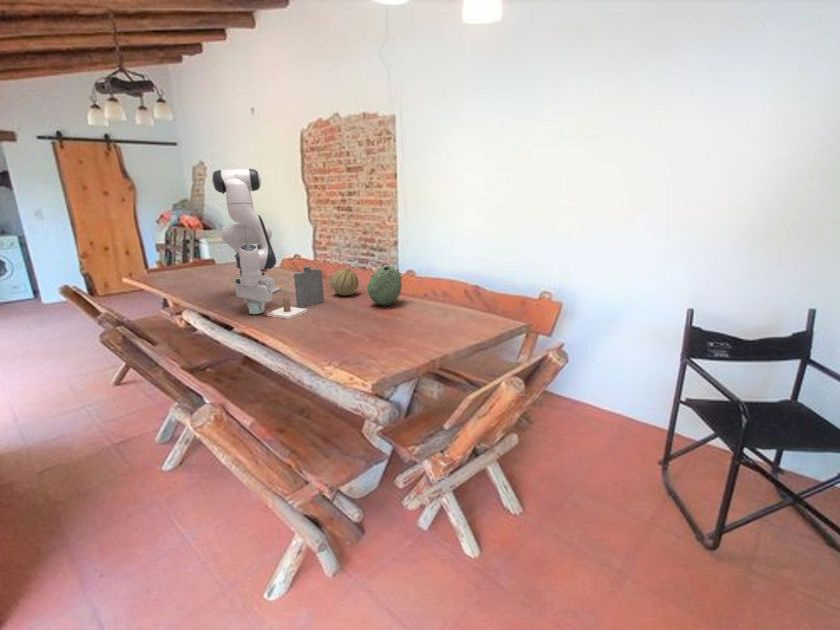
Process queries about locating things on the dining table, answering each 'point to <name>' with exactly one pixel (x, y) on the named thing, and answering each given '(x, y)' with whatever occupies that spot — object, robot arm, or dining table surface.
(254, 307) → the cap
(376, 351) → the dining table surface
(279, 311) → the post stand
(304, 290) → the hip flask
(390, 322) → the dining table surface
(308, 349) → the dining table surface
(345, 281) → the cantaloupe
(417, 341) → the dining table surface
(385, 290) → the green bumpy rounded body
